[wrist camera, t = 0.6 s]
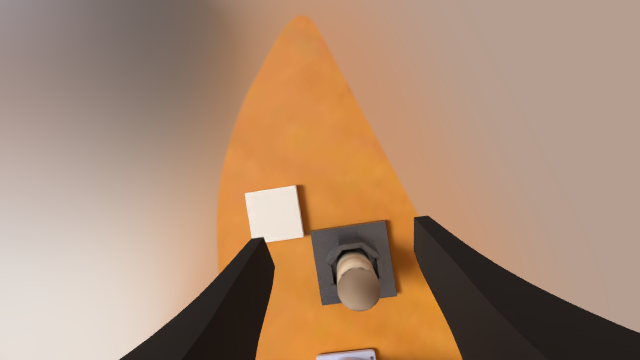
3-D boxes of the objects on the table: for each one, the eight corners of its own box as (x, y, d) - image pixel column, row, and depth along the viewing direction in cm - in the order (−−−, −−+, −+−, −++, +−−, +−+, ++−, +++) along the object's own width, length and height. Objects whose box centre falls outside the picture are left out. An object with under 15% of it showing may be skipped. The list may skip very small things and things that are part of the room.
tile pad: (304, 235, 31) (303, 237, 30) (255, 242, 32) (252, 244, 31) (296, 185, 31) (295, 185, 30) (247, 192, 32) (244, 193, 31)
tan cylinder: (372, 277, 30) (383, 308, 23) (339, 282, 30) (341, 313, 23) (367, 245, 30) (377, 265, 23) (334, 249, 30) (334, 271, 23)
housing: (395, 292, 31) (402, 306, 27) (322, 301, 31) (321, 316, 28) (383, 219, 31) (389, 225, 27) (311, 230, 31) (308, 236, 28)
